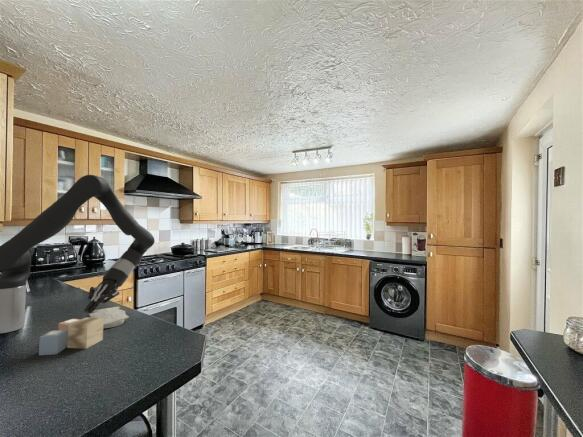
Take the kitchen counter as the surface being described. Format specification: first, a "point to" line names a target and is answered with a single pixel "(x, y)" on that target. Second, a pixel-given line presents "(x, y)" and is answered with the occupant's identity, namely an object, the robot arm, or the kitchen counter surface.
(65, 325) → the terracotta label block
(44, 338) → the blue label block
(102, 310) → the stone tool
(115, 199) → the robot arm
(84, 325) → the plain block
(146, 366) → the kitchen counter surface
